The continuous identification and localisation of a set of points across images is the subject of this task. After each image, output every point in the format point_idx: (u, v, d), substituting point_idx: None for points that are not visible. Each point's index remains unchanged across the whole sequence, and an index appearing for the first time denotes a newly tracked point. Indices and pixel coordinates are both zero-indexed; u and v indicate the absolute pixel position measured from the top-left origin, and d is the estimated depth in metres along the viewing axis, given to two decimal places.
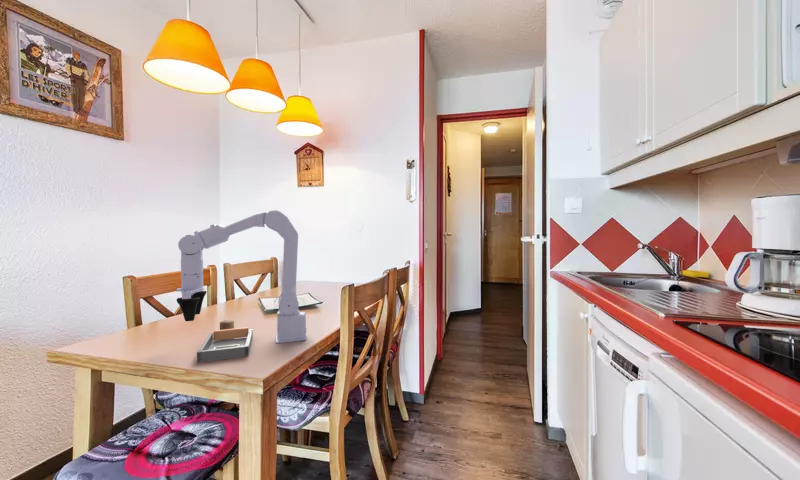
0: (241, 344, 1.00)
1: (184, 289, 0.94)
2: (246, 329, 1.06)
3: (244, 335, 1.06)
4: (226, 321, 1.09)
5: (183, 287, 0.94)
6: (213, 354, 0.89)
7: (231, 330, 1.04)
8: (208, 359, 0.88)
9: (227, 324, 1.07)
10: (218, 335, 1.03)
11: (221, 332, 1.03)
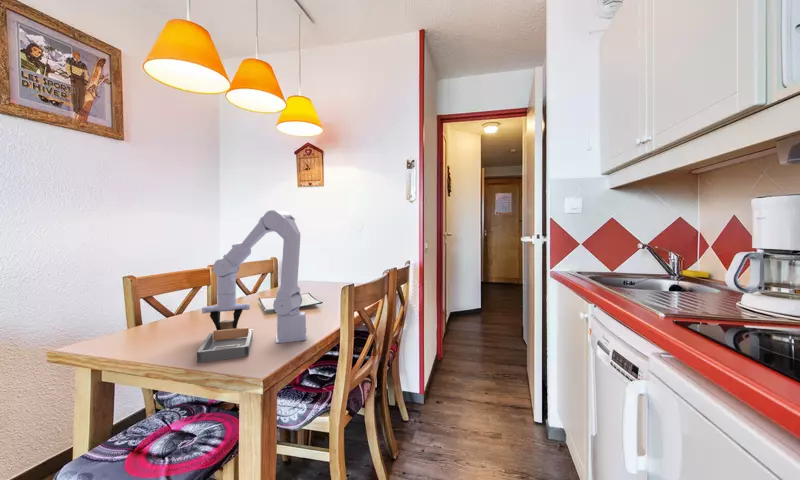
0: (241, 344, 1.00)
1: None
2: (246, 329, 1.06)
3: (244, 335, 1.06)
4: (226, 321, 1.09)
5: None
6: (213, 354, 0.89)
7: (231, 330, 1.04)
8: (208, 359, 0.88)
9: (227, 324, 1.07)
10: (218, 335, 1.03)
11: (221, 332, 1.03)
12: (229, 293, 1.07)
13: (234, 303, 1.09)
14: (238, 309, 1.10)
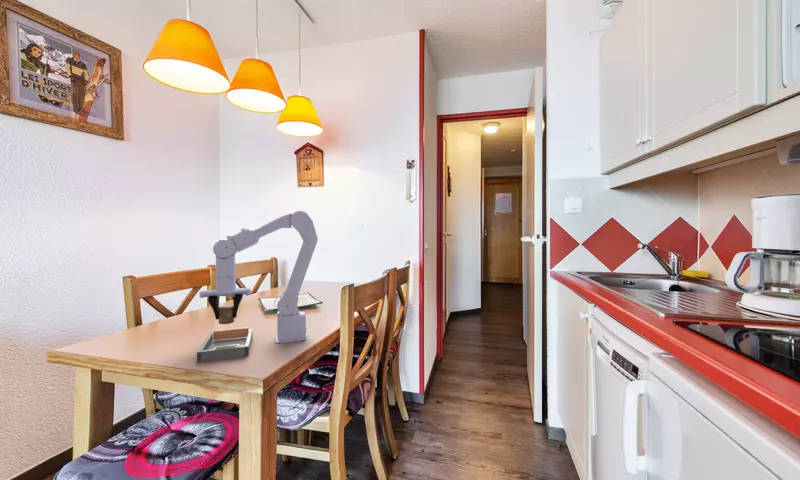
0: (241, 344, 1.00)
1: None
2: (246, 329, 1.06)
3: (244, 335, 1.06)
4: (225, 306, 1.02)
5: None
6: (213, 354, 0.89)
7: (231, 330, 1.04)
8: (208, 359, 0.88)
9: (226, 309, 1.00)
10: (218, 335, 1.03)
11: (221, 332, 1.03)
12: (232, 276, 1.00)
13: (234, 287, 1.01)
14: (238, 294, 1.02)
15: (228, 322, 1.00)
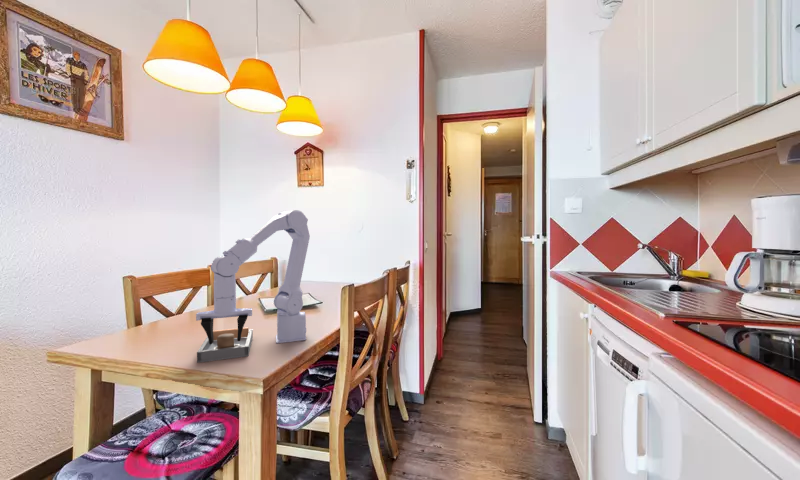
0: (241, 344, 1.00)
1: None
2: (246, 329, 1.06)
3: (244, 335, 1.06)
4: (225, 335, 0.94)
5: None
6: (213, 354, 0.89)
7: (231, 330, 1.04)
8: (208, 359, 0.88)
9: (226, 339, 0.92)
10: (218, 335, 1.03)
11: (221, 332, 1.03)
12: (235, 295, 0.93)
13: (234, 308, 0.93)
14: (239, 315, 0.94)
15: None
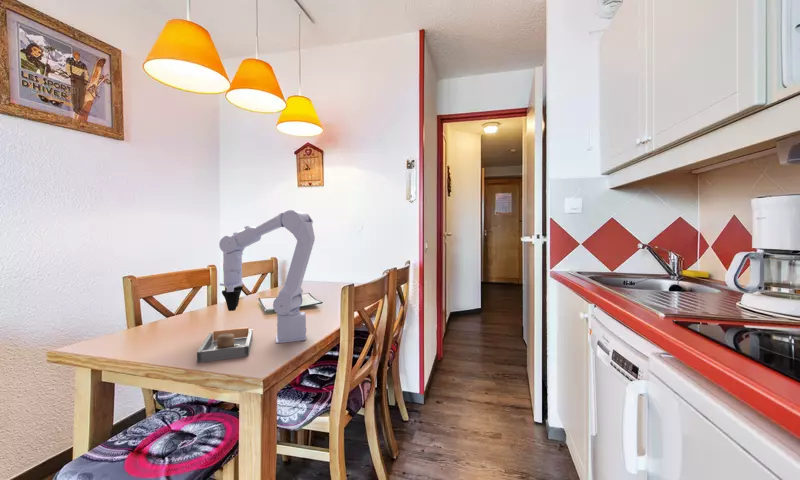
0: (241, 344, 1.00)
1: (227, 283, 1.07)
2: (246, 329, 1.06)
3: (244, 335, 1.06)
4: (225, 335, 0.94)
5: (226, 282, 1.07)
6: (213, 354, 0.89)
7: (231, 330, 1.04)
8: (208, 359, 0.88)
9: (226, 339, 0.92)
10: (218, 335, 1.03)
11: (221, 332, 1.03)
12: (235, 270, 1.07)
13: None
14: (236, 285, 1.13)
15: None
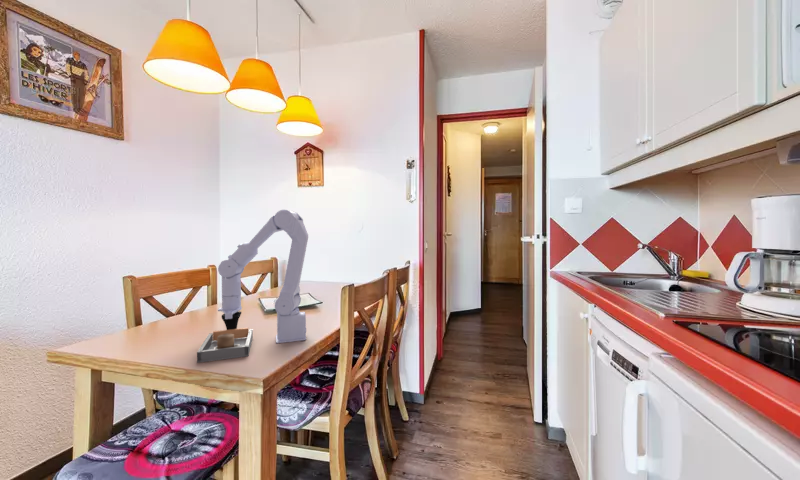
0: (241, 344, 1.00)
1: (225, 309, 1.03)
2: (246, 329, 1.06)
3: (244, 335, 1.06)
4: (225, 335, 0.94)
5: (224, 307, 1.03)
6: (213, 354, 0.89)
7: (231, 330, 1.04)
8: (208, 359, 0.88)
9: (226, 339, 0.92)
10: (218, 335, 1.03)
11: (221, 332, 1.03)
12: (235, 295, 1.04)
13: None
14: None
15: None
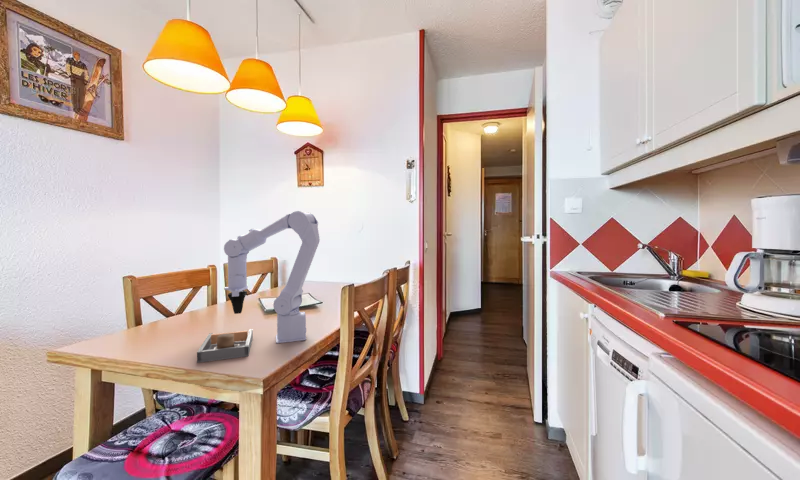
0: (241, 344, 1.00)
1: (231, 288, 1.05)
2: (245, 332, 1.03)
3: (243, 339, 1.02)
4: (225, 335, 0.94)
5: (230, 286, 1.05)
6: (213, 354, 0.89)
7: None
8: (208, 359, 0.88)
9: (226, 339, 0.92)
10: (216, 339, 1.00)
11: None
12: (240, 274, 1.06)
13: None
14: None
15: None
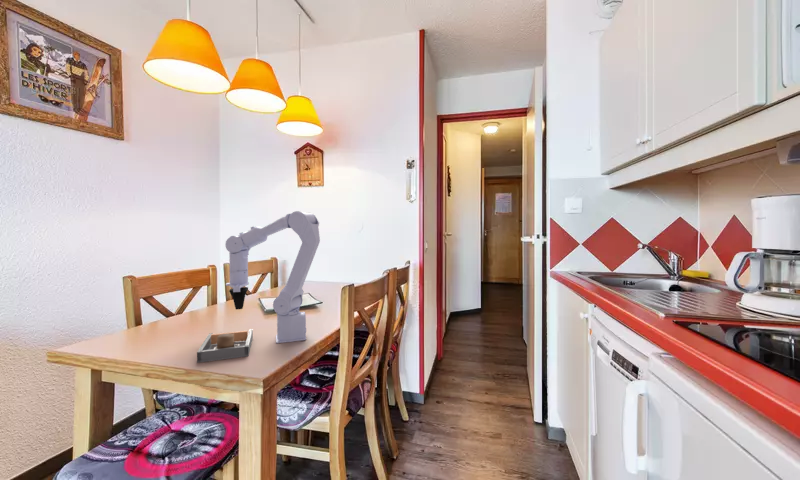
0: (241, 344, 1.00)
1: (233, 284, 1.06)
2: (245, 332, 1.03)
3: (243, 339, 1.02)
4: (225, 335, 0.94)
5: (232, 282, 1.07)
6: (213, 354, 0.89)
7: None
8: (208, 359, 0.88)
9: (226, 339, 0.91)
10: (216, 339, 1.00)
11: None
12: (241, 270, 1.07)
13: None
14: None
15: None
